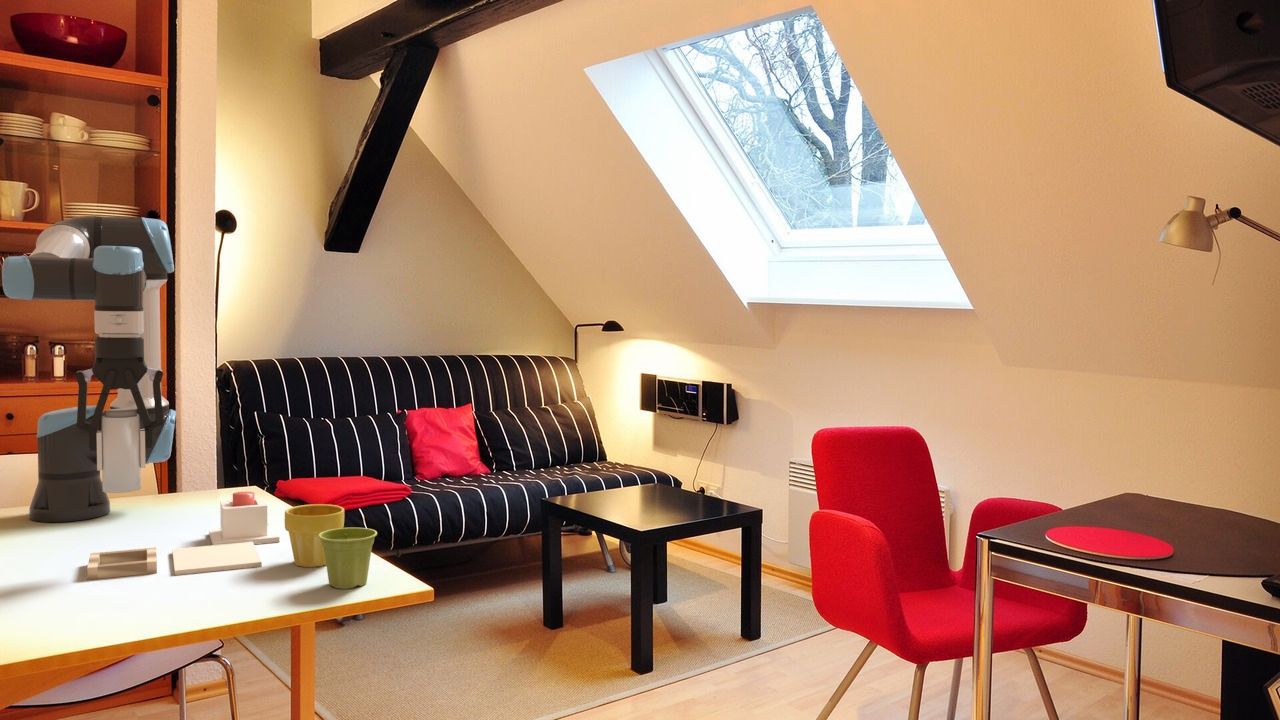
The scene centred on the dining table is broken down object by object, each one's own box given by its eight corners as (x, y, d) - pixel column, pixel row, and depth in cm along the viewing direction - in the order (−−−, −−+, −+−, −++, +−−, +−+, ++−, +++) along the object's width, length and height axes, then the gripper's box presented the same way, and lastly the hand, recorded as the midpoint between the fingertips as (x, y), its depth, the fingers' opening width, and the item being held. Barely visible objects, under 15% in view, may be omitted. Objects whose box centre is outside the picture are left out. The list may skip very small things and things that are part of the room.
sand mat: (172, 553, 182) (172, 548, 182) (252, 545, 189) (252, 541, 189) (174, 575, 168) (174, 570, 168) (261, 566, 175) (261, 562, 174)
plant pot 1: (356, 558, 181) (356, 506, 180) (320, 572, 171) (320, 517, 171) (309, 552, 184) (309, 501, 184) (272, 566, 175) (271, 512, 174)
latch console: (209, 534, 197) (208, 500, 197) (272, 528, 203) (272, 495, 202) (212, 548, 187) (212, 511, 186) (279, 542, 192) (279, 506, 192)
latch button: (232, 517, 195) (231, 492, 195) (253, 515, 197) (253, 490, 197) (233, 521, 192) (233, 496, 191) (255, 519, 193) (255, 494, 193)
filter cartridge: (102, 487, 172) (101, 408, 171) (140, 485, 175) (139, 407, 174) (102, 494, 167) (101, 413, 166) (141, 491, 170) (140, 411, 169)
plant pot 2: (326, 576, 169) (325, 527, 169) (381, 576, 170) (381, 526, 169) (312, 592, 160) (312, 540, 159) (371, 592, 161) (371, 540, 160)
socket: (90, 564, 174) (90, 553, 174) (156, 558, 179) (156, 547, 179) (87, 579, 165) (87, 568, 165) (156, 572, 169) (156, 561, 169)
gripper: (54, 336, 162) (57, 475, 163) (180, 336, 170) (182, 468, 172) (57, 334, 168) (60, 467, 170) (179, 334, 177) (180, 461, 178)
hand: (121, 467), depth 171 cm, fingers closed on filter cartridge, 6 cm apart
